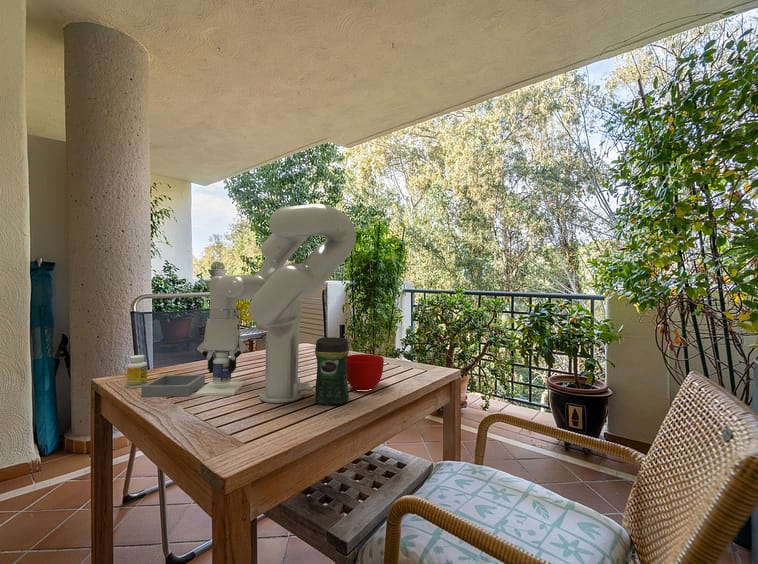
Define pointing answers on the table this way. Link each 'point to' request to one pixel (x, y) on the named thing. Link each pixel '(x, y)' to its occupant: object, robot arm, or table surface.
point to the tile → (220, 389)
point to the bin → (173, 385)
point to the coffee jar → (331, 371)
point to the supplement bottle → (136, 372)
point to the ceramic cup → (364, 370)
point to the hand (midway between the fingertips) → (222, 371)
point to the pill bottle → (221, 368)
